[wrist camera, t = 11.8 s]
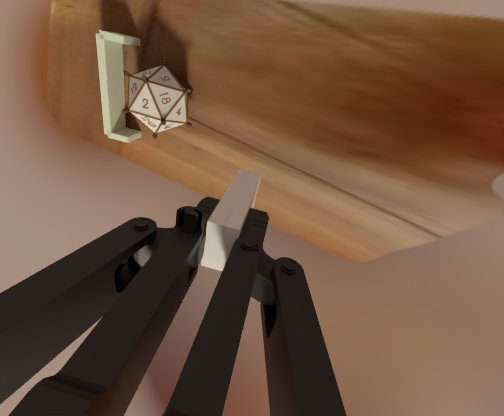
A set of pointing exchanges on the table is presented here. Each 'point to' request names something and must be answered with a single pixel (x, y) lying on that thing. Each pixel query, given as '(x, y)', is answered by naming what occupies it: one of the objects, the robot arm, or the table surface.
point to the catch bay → (114, 84)
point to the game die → (157, 99)
